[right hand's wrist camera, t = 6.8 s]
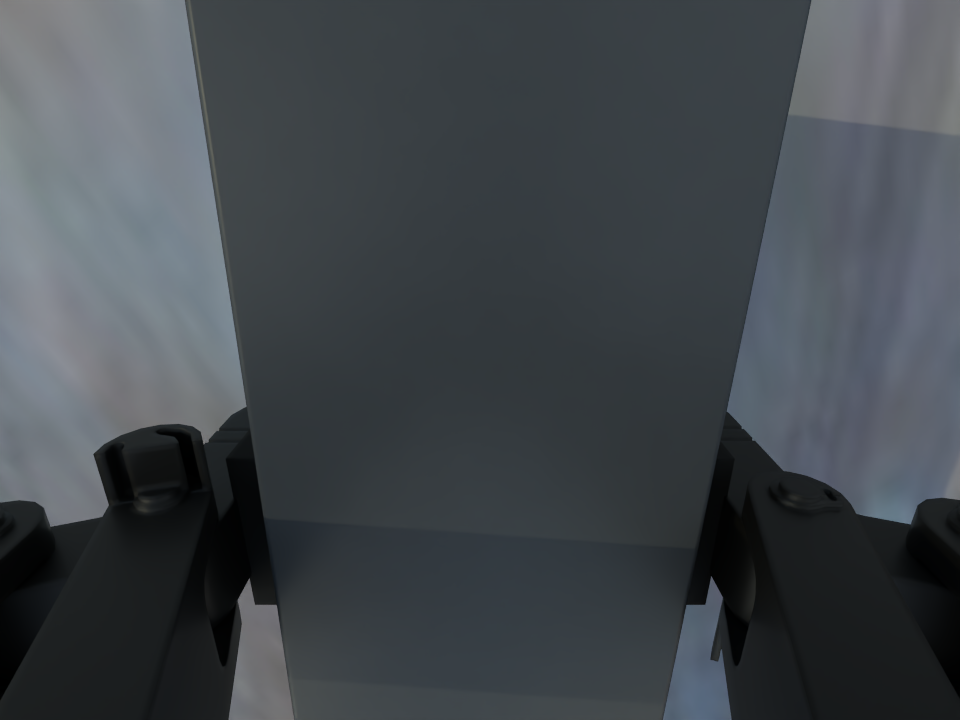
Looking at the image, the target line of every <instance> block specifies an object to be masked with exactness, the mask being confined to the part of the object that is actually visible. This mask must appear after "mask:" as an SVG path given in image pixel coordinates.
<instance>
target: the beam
mask: <svg viewBox="0 0 960 720" xmlns="http://www.w3.org/2000/svg"><path fill="white" fill-rule="evenodd" d="M185 4H186V10H187V17H188V24H189V30H190V37H191V43H192V50H193V56H194V63H195V70H196V76H197V83H198V89H199V96H200V102H201V109H202V116H203V122H204V129H205V135H206V142H207V148H208V155H209V162H210V168H211V175H212V181H213V188H214V194H215V201H216V208H217V214H218V221H219V227H220V234H221V240H222V247H223V254H224V260H225V267H226V273H227V280H228V286H229V293H230V300H231V306H232V313H233V319H234V326H235V332H236V339H237V346H238V352H239V359H240V365H241V372H242V378H243V385H244V392H245V398H246V405H247V411H248V418H249V424H250V431H251V438H252V444H253V451H254V457H255V464H256V470H257V477H258V484H259V490H260V497H261V503H262V510H263V516H264V523H265V530H266V536H267V543H268V549H269V556H270V562H271V569H272V576H273V582H274V589H275V595H276V602H277V608H278V615H279V622H280V628H281V635H282V641H283V648H284V654H285V661H286V668H287V674H288V681H289V687H290V694H291V700H292V707H293V714H294V720H663V716H664V711H665V706H666V701H667V696H668V691H669V687H670V682H671V677H672V672H673V667H674V662H675V658H676V653H677V648H678V643H679V638H680V633H681V628H682V624H683V619H684V614H685V609H686V604H687V599H688V595H689V590H690V585H691V580H692V575H693V570H694V566H695V561H696V556H697V551H698V546H699V541H700V537H701V532H702V527H703V522H704V517H705V512H706V508H707V503H708V498H709V493H710V488H711V483H712V478H713V474H714V469H715V464H716V459H717V454H718V449H719V445H720V440H721V435H722V430H723V425H724V420H725V416H726V411H727V406H728V401H729V396H730V391H731V387H732V382H733V377H734V372H735V367H736V362H737V358H738V353H739V348H740V343H741V338H742V333H743V329H744V324H745V319H746V314H747V309H748V304H749V299H750V295H751V290H752V285H753V280H754V275H755V270H756V266H757V261H758V256H759V251H760V246H761V241H762V237H763V232H764V227H765V222H766V217H767V212H768V208H769V203H770V198H771V193H772V188H773V183H774V179H775V174H776V169H777V164H778V159H779V154H780V150H781V145H782V140H783V135H784V130H785V125H786V120H787V116H788V111H789V106H790V101H791V96H792V91H793V87H794V82H795V77H796V72H797V67H798V62H799V58H800V53H801V48H802V43H803V38H804V33H805V29H806V24H807V19H808V14H809V9H810V4H811V0H185Z"/></svg>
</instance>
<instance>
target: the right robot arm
mask: <svg viewBox="0 0 960 720" xmlns="http://www.w3.org/2000/svg"><path fill="white" fill-rule="evenodd" d="M94 457H95V461H96V464H97V467H98V470H99V474H100V477H101V480H102V483H103V487H104V490H105V493H106V496H107V500H108V503H109V506H108V508H107V510H106V512H105V514H104V515H103V517H100V518H96V519H90V520H85V521H80V522H74V523H69V524H64V525H59V526H53V527H50V524H49V521H48V519H47V516H46V513H45V510H44V508H43V507H42V506H40V505H39V504H37V503H36V502H30V501H20V500H19V501H11V502H3V503H0V720H228V719H229V712H230V704H231V697H232V690H233V683H234V676H235V668H236V661H237V654H238V647H239V640H240V632H241V625H242V622H241V615H240V610H239V605H238V601H237V600H238V598H239V596H240V594H241V593H242V591H243V589H244V587H245V585H246V583H247V581H248V579H249V578H250V582H251V587H252V592H253V597H254V602H255V605H277V602H276V595H275V589H274V582H273V576H272V569H271V562H270V556H269V549H268V543H267V536H266V530H265V523H264V516H263V510H262V503H261V497H260V490H259V484H258V477H257V470H256V464H255V457H254V451H253V444H252V438H251V431H250V424H249V418H248V411H247V407H245V408H243V409H242V410H240V411H238V412H236V413H234V414H233V415H231V416H230V417H229V419H228V420H227V421H226V422H225V423H224V424H223V425H222V426H221V427H220V428H219V431H216V433H215V434H214V435H213V436H212V437H211V438H210V439H209V443H205V444H204V445H203V440H202V436H201V432H200V431H198V430H197V429H196V428H194V427H193V426H187V425H181V424H168V425H157V426H152V427H147V428H142V429H138V430H135V431H133V432H130V433H127V434H124V435H121V436H119V437H117V438H115V439H113V440H111V441H110V442H108V443H106V444H104V445H103V446H102V447H101V448H100V449H99V450H98V451H96V452H95V453H94ZM711 576H712V578H713V580H714V582H715V583H716V585H717V587H718V589H719V591H720V593H721V595H722V596H723V601H722V605H721V610H720V614H719V619H718V624H717V628H716V633H715V637H714V642H713V646H712V652H711V659H710V660H714V661H718V660H719V655H720V651H721V649H722V653H723V660H724V667H725V674H726V681H727V689H728V696H729V703H730V710H731V717H732V720H960V500H955V499H947V498H936V499H926V500H925V501H923V502H922V503H920V504H919V505H918V506H917V509H916V512H915V514H914V517H913V520H912V523H911V525H910V524H905V523H899V522H894V521H889V520H883V519H878V518H873V517H867V516H862V515H858V514H856V513H855V511H854V509H853V507H852V505H851V504H850V503H849V502H848V501H847V499H846V498H845V497H844V496H843V495H842V494H841V493H840V492H838V491H836V490H835V489H833V488H832V487H830V486H829V485H827V484H825V483H823V482H821V481H818V480H816V479H813V478H811V477H808V476H805V475H801V474H796V473H792V472H787V471H783V470H782V469H781V468H780V467H779V466H778V465H777V464H776V463H775V462H774V461H773V460H772V458H771V457H770V456H769V455H768V454H767V453H766V452H765V451H764V450H763V449H762V448H761V447H760V446H759V445H758V444H757V443H756V441H752V437H751V436H750V435H749V434H748V433H747V432H746V431H745V430H744V429H741V426H740V424H739V423H738V422H737V421H736V420H735V419H734V418H733V417H732V416H731V415H730V414H729V413H728V412H726V416H725V420H724V425H723V430H722V435H721V440H720V445H719V449H718V454H717V459H716V464H715V469H714V474H713V478H712V483H711V488H710V493H709V498H708V503H707V508H706V512H705V517H704V522H703V527H702V532H701V537H700V541H699V546H698V551H697V556H696V561H695V566H694V570H693V575H692V580H691V585H690V590H689V595H688V599H687V604H686V605H705V603H706V599H707V594H708V589H709V584H710V579H711Z"/></svg>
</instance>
